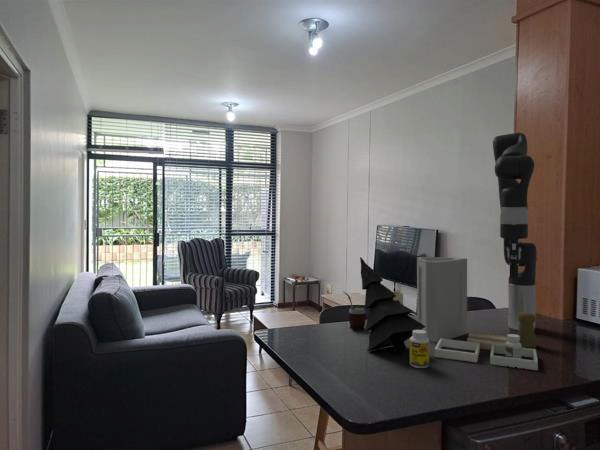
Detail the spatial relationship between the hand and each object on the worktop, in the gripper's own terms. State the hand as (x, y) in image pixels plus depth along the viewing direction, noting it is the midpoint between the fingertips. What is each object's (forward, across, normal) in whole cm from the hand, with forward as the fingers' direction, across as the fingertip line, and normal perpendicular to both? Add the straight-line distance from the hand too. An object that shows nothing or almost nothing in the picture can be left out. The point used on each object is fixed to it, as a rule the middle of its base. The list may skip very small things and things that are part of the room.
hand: (513, 276), depth 131 cm
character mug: (+26, -27, -43) cm, 57 cm away
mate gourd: (+26, -15, -55) cm, 63 cm away
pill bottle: (+26, 0, 0) cm, 26 cm away
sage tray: (+26, 0, 0) cm, 26 cm away
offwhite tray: (+26, 0, -16) cm, 30 cm away
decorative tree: (+26, +4, -39) cm, 47 cm away
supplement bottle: (+26, +16, -25) cm, 39 cm away
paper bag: (+26, -21, -26) cm, 42 cm away
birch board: (+26, -14, -8) cm, 30 cm away
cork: (+26, -19, +4) cm, 32 cm away
